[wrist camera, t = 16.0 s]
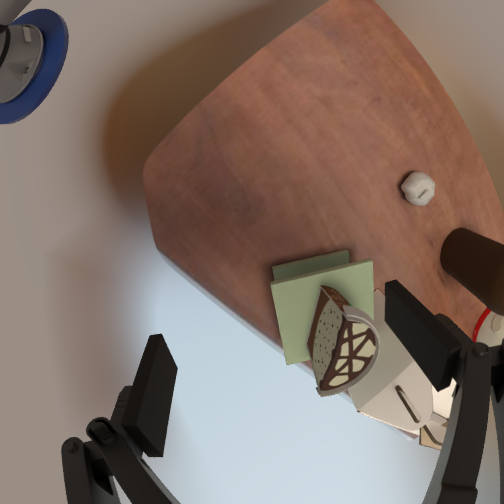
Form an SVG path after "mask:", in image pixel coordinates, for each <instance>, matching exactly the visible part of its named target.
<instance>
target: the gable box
mask: <svg viewBox="0 0 504 504" xmlns="http://www.w3.org/2000/svg"><path fill="white" fill-rule="evenodd" d="M384 317H385V295H384V294H383V293H382V292H381V291H379V290H378V289H376V290H375V292H374V324H375V326H376V328H377V331H378V335H379V339H380V350H379V355H378V358H377V361H376V363H375V365H374V367H373V368H372V369H371V371H370V372H369V373H368V374H367V375H366V377H365V378H363V379H362V380H361V381H360V382H359V383H357V384H356V385H354V386H353V387H351V388H349V389H348V391H349V394H350V396H351V398H352V401H353V403H354V405H355V408H356V410H357V412H359V413H361V414H364V415H366V416H369V417H371V418H374V419H376V420H379V421H381V422H384V423H386V424H389V425H392V426H394V427H397V428H400V429H403V430H405V431H408V432H411V433H414V434H417V435H420V439H419V440H420V441H419V444H420V445H423V446H426V447H430V448H434V449H438V450H441V448H442V444H443V441H444V437H445V433H446V429H447V425H448V420H449V416H450V411H451V406H452V401H453V397H451V396H452V394H453V391H454V388H455V386H456V382H455V380H454V379H453V378H452V381H451V384H450V386H449V387H447V388H446V389H444V390H442V391H440V392H437V391H436V389H435V388H434V387H433V385H432V384H431V382H430V381H429V380H428V378H427V377H426V375H425V374H424V373H423V371H422V370H421V369H420V367H419V366H418V364H417V363H416V362H415V360H414V359H413V358H412V356H411V355H410V354H409V352H408V351H407V350H406V348H405V347H404V346H403V344H402V343H401V342H400V340H399V339H398V338H397V337H396V335H395V334H394V333H393V331H392V330H391V329H390V328H389V326H388V325H387V324H386V322H385V321H384Z"/></svg>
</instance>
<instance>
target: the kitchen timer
mask: <svg viewBox="0 0 504 504" xmlns="http://www.w3.org/2000/svg"><path fill="white" fill-rule="evenodd" d="M503 338H504V316H500V315H498V314H496V313H494V312H493V311H491V310H489V309H488V308H487V309H486V310H485V311H484V313H483V314H482V315H481V317H480V319H479V320H478V322H477V324H476V327H475V329H474V333H473V342H482V343H485V344H486V345H488V346H489V347H492V346H497V345H501V343H502V340H503Z"/></svg>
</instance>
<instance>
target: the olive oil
mask: <svg viewBox="0 0 504 504" xmlns="http://www.w3.org/2000/svg"><path fill="white" fill-rule="evenodd" d="M441 264H442V267H443V269H444V270H445V271H446V272H447V273H448V274H449V275H451V276H452V277H453V278H455V279H456V280H457V281H458V282H459V283H461V284H462V285H463V286H464V287H465V288H467V289H468V290H469V291H470V292H471V293H472V294H474V295H475V296H476V297H477V298H478V299H479V300H480V301H481V302H483V303H484V304H485V305H486V306H487V307H488V309H489V310H491V311H493V312H494V313H496V314H498V315H500V316H504V245H503V244H501V243H499V242H496V241H494V240H491V239H489V238H487V237H484V236H482V235H479V234H477V233H475V232H472V231H470V230H468V229H465V228H459V229H456V230H455V231H453V232H452V233H451V234H450V235H449V236H448V238H447V239H446V241H445V243H444V245H443V248H442V252H441Z"/></svg>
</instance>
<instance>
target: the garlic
mask: <svg viewBox="0 0 504 504" xmlns="http://www.w3.org/2000/svg"><path fill="white" fill-rule="evenodd" d="M401 188H402V191H404V193H405V197H406V199H407V200H408V201H409V202H410V203H412V204H414V205H418V206H425V205H427V203H428V202H429V201H430V200H431V199H432V197H433V196H434V189H435V183H434V182H433V180H432V179H431V178H430V177H429V176H428V175H427V174H424V173H423V172H413V173H411V174H410V176H409V177H408V178H407V179H406V180H405V181H404V183H403V184H402V185H401Z"/></svg>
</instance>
